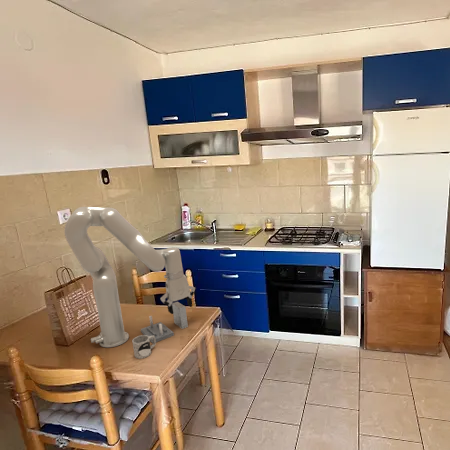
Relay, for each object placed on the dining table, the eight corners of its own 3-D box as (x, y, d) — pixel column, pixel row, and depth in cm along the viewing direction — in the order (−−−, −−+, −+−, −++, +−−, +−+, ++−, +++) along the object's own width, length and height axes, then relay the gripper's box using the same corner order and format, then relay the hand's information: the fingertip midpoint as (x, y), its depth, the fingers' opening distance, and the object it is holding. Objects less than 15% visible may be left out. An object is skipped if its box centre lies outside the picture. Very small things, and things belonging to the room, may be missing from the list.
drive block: (187, 326, 168) (185, 306, 166) (182, 329, 166) (179, 308, 164) (180, 321, 174) (177, 301, 173) (174, 323, 173) (171, 303, 171)
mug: (140, 360, 143) (138, 345, 142) (131, 355, 148) (129, 340, 147) (161, 349, 150) (159, 334, 149) (151, 344, 155) (149, 330, 154)
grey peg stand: (174, 335, 161) (172, 321, 160) (152, 343, 156) (150, 329, 154) (161, 324, 172) (159, 312, 171) (141, 332, 167) (139, 318, 166)
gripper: (161, 282, 158) (167, 318, 162) (195, 271, 167) (200, 305, 171) (154, 278, 164) (160, 313, 168) (188, 267, 173) (193, 301, 177)
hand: (180, 309), depth 169 cm, fingers open, 9 cm apart
